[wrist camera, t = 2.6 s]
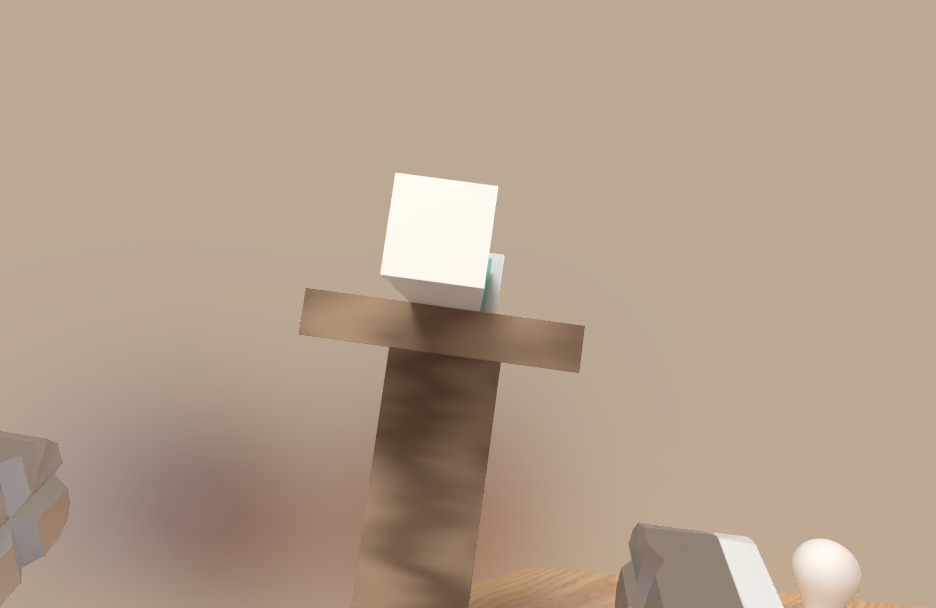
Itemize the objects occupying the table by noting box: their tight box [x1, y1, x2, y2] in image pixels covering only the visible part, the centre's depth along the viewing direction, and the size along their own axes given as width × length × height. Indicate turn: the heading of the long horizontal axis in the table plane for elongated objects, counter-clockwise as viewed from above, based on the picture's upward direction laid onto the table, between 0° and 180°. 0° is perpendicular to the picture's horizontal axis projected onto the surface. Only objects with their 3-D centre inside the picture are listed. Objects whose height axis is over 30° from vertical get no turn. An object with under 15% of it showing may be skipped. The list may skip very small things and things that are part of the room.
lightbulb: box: [791, 539, 862, 608], centre depth 63 cm, size 6×6×11 cm
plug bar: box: [381, 173, 504, 314], centre depth 29 cm, size 5×22×4 cm, turn 0°
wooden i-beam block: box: [299, 288, 585, 608], centre depth 34 cm, size 12×16×26 cm
